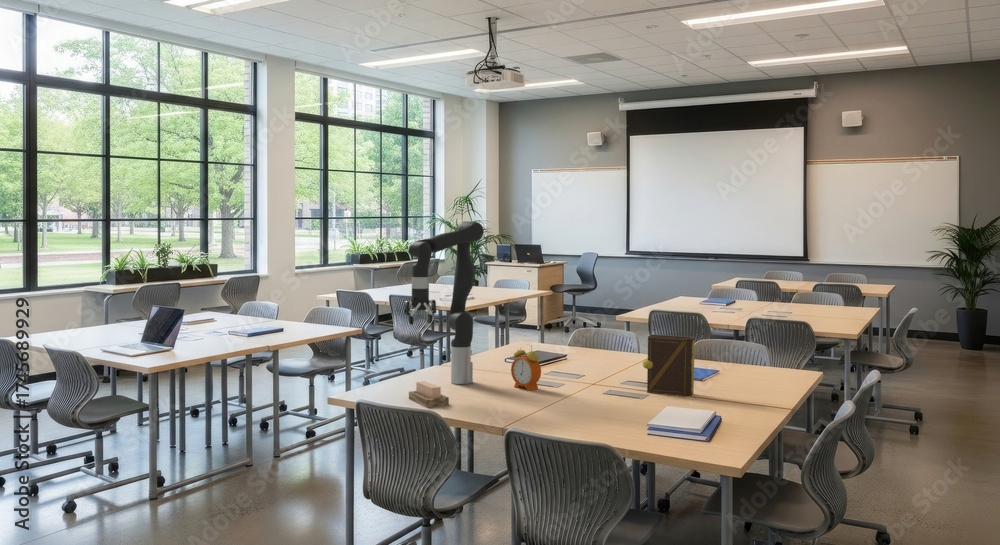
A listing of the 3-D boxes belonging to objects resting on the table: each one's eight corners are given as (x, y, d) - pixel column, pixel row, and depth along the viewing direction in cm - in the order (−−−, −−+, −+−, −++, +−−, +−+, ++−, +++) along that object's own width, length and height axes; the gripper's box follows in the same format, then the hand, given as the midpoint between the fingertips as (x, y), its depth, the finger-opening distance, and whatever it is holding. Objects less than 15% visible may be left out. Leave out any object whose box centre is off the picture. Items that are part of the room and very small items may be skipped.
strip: (424, 394, 329) (424, 381, 329) (440, 401, 317) (440, 387, 317) (416, 396, 327) (416, 382, 326) (431, 402, 315) (431, 388, 315)
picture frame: (430, 396, 332) (430, 389, 332) (448, 404, 317) (448, 397, 316) (408, 398, 327) (408, 391, 327) (426, 407, 312) (426, 400, 311)
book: (694, 393, 338) (695, 336, 336) (690, 397, 330) (691, 339, 328) (645, 388, 347) (645, 333, 345) (640, 392, 339) (641, 336, 338)
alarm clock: (510, 387, 350) (510, 343, 349) (519, 385, 355) (519, 341, 353) (532, 391, 341) (532, 346, 340) (541, 389, 346) (541, 345, 344)
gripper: (431, 285, 345) (431, 321, 346) (401, 287, 337) (402, 324, 339) (438, 287, 338) (438, 323, 339) (408, 288, 331) (408, 326, 332)
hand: (420, 323), depth 339 cm, fingers open, 8 cm apart
